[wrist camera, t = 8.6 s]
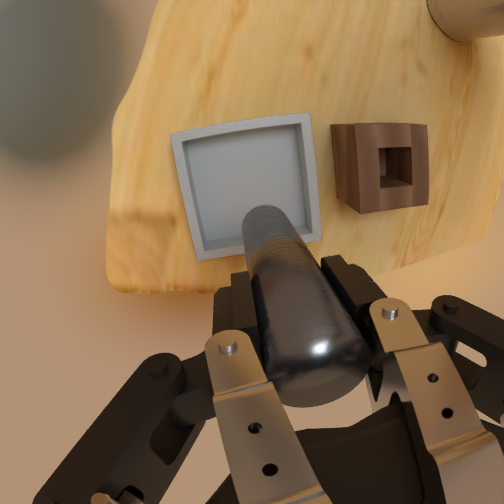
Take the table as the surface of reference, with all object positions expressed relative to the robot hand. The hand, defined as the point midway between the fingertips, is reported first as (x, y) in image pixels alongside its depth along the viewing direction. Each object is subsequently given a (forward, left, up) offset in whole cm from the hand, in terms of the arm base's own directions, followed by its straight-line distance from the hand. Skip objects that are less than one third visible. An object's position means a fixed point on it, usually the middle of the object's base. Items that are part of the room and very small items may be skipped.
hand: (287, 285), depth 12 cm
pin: (0, 0, -7) cm, 7 cm away
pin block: (-15, -1, -23) cm, 28 cm away
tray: (0, 0, -23) cm, 23 cm away
